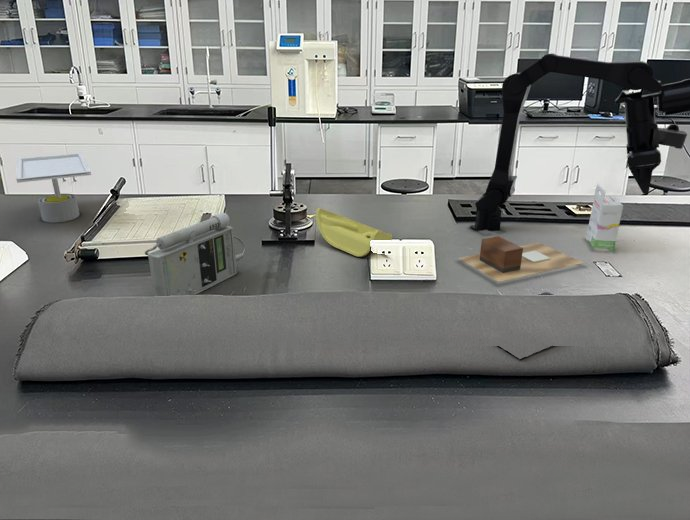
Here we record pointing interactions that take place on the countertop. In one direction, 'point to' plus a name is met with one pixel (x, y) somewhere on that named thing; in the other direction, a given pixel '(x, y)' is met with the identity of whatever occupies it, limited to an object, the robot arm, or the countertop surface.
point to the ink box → (604, 220)
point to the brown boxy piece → (501, 254)
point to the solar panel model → (54, 182)
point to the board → (525, 263)
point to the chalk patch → (535, 256)
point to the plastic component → (348, 233)
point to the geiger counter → (194, 257)
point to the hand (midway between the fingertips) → (644, 188)
